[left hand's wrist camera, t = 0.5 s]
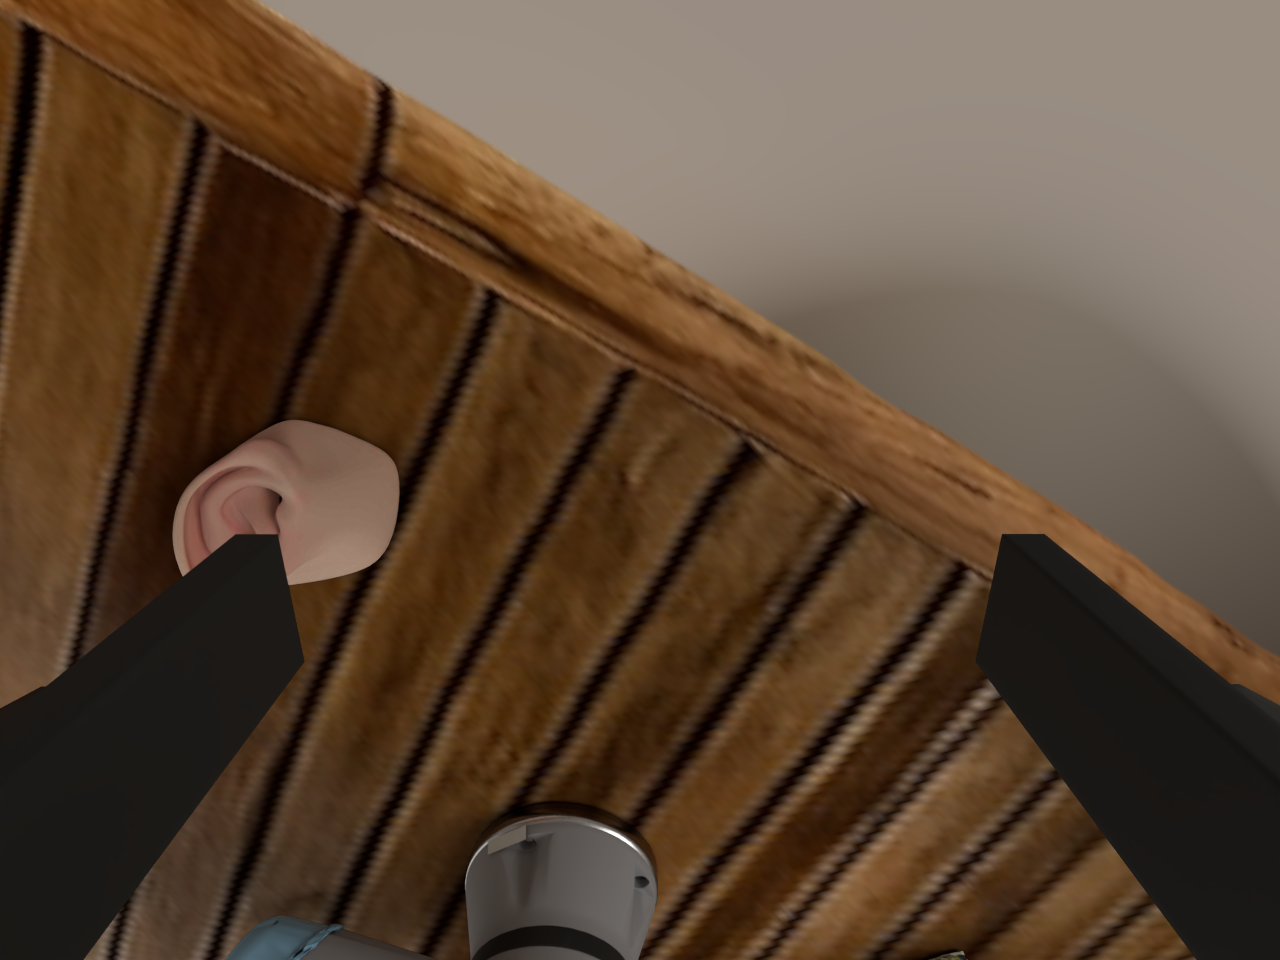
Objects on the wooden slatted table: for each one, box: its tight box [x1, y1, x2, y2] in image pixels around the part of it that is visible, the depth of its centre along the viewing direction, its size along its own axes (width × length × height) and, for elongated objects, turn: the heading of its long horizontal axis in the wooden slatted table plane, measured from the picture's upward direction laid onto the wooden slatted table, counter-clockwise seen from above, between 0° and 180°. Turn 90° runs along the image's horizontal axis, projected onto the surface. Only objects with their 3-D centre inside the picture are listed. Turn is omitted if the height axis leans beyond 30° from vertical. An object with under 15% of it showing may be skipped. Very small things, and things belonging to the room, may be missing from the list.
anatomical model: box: [173, 420, 399, 585], centre depth 43 cm, size 13×4×12 cm
